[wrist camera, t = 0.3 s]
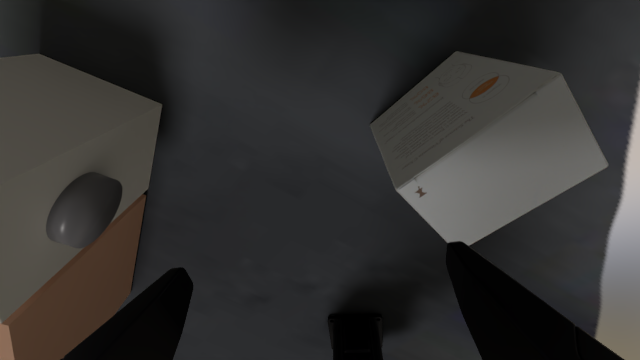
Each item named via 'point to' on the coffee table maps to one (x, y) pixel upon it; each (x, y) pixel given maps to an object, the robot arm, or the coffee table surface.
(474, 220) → the small box
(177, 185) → the coffee table surface
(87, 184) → the beige rectangular box
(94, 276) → the side door
